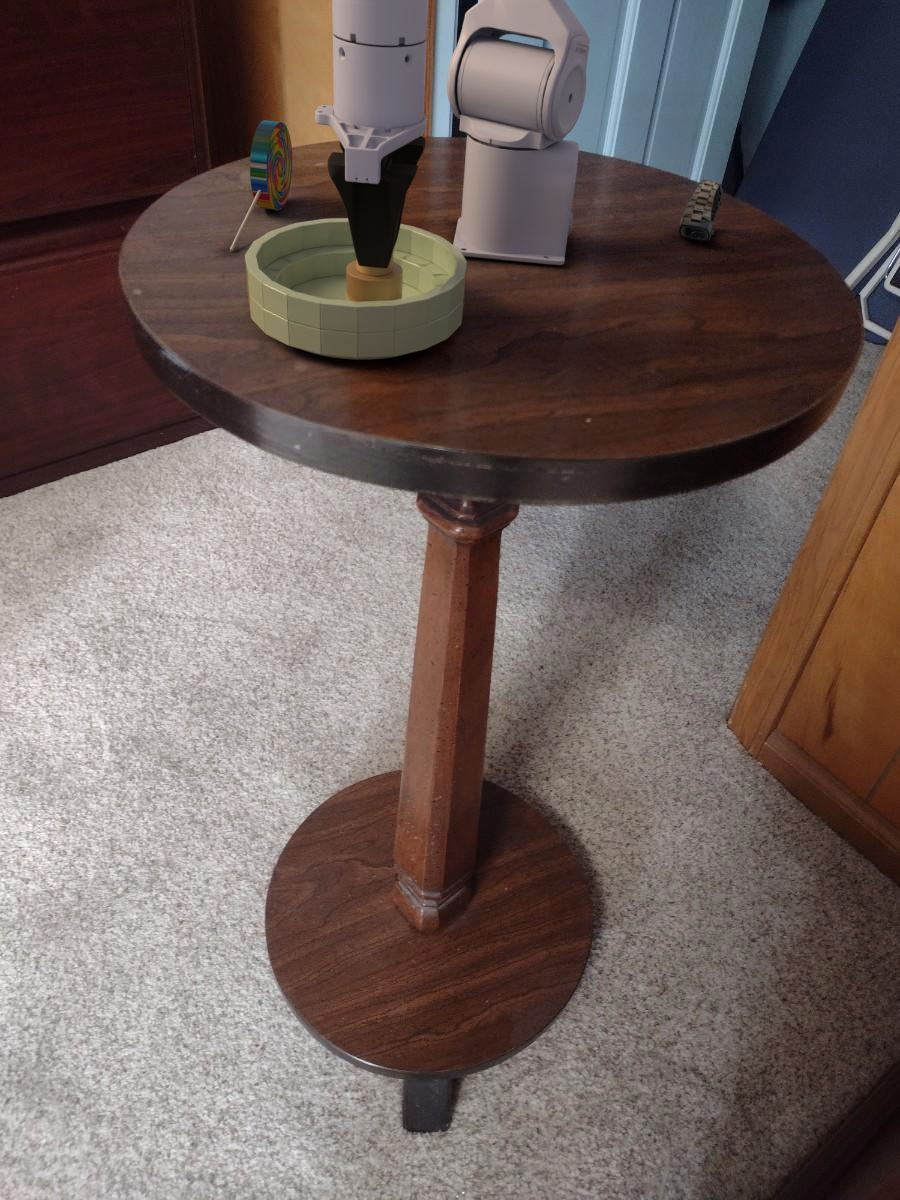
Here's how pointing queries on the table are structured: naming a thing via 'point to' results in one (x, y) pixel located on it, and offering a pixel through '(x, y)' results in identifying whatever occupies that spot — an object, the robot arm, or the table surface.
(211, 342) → the table surface
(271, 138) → the lollipop
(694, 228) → the wristwatch
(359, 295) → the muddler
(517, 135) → the robot arm
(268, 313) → the bowl
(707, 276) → the table surface
